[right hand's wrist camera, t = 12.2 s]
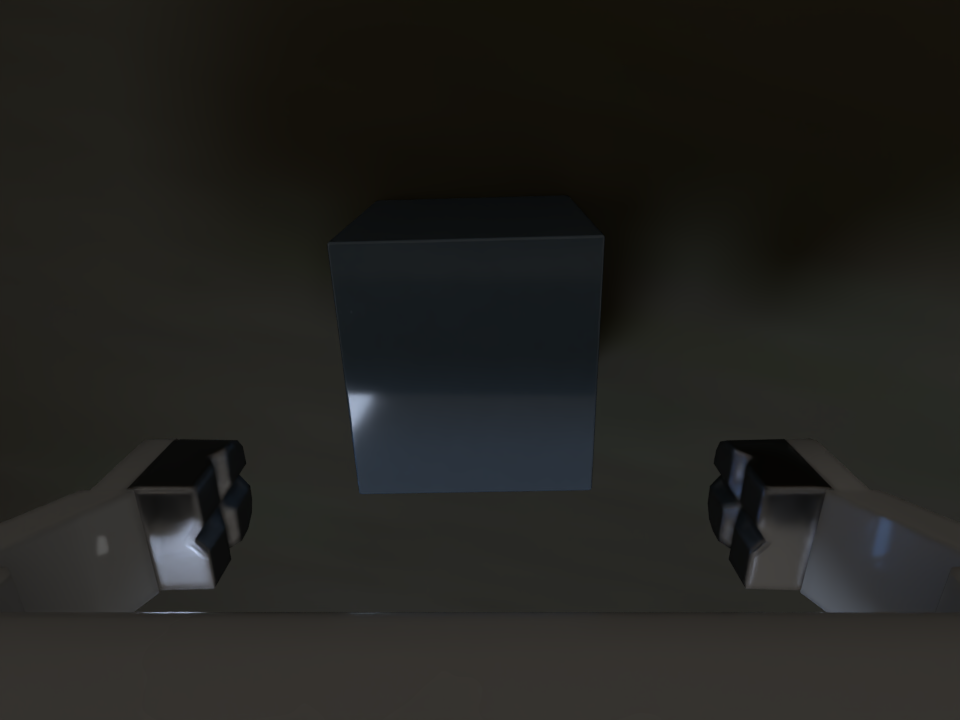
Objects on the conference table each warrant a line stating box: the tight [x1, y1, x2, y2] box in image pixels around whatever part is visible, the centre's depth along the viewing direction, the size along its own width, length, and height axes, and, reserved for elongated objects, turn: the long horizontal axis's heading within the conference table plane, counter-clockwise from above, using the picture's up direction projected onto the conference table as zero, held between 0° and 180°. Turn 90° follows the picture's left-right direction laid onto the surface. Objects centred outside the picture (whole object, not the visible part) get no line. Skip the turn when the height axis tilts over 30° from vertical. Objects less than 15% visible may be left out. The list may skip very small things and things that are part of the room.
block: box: [327, 195, 605, 494], centre depth 12 cm, size 5×4×5 cm
